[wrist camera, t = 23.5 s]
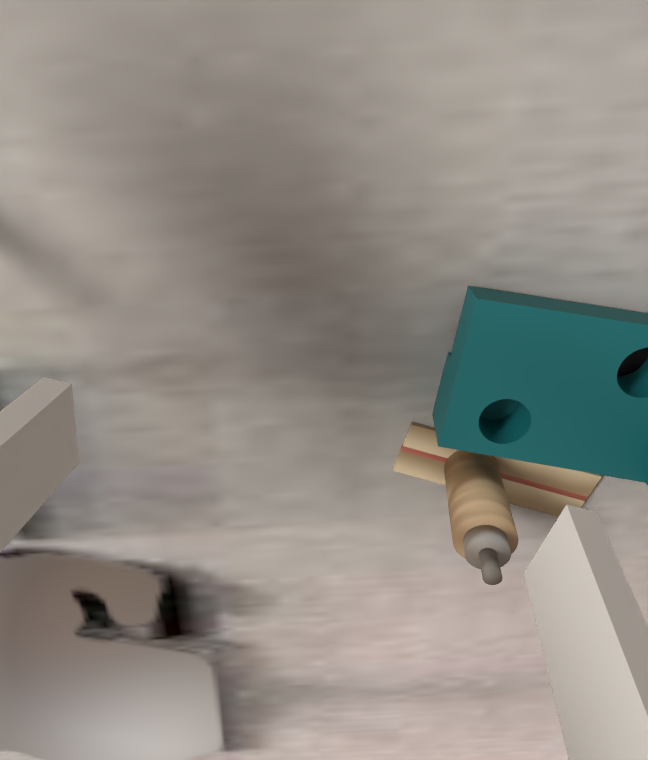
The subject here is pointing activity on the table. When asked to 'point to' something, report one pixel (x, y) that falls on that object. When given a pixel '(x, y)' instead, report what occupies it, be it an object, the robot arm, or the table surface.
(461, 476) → the awl
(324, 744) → the table surface
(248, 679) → the table surface
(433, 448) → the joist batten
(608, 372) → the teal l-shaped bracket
